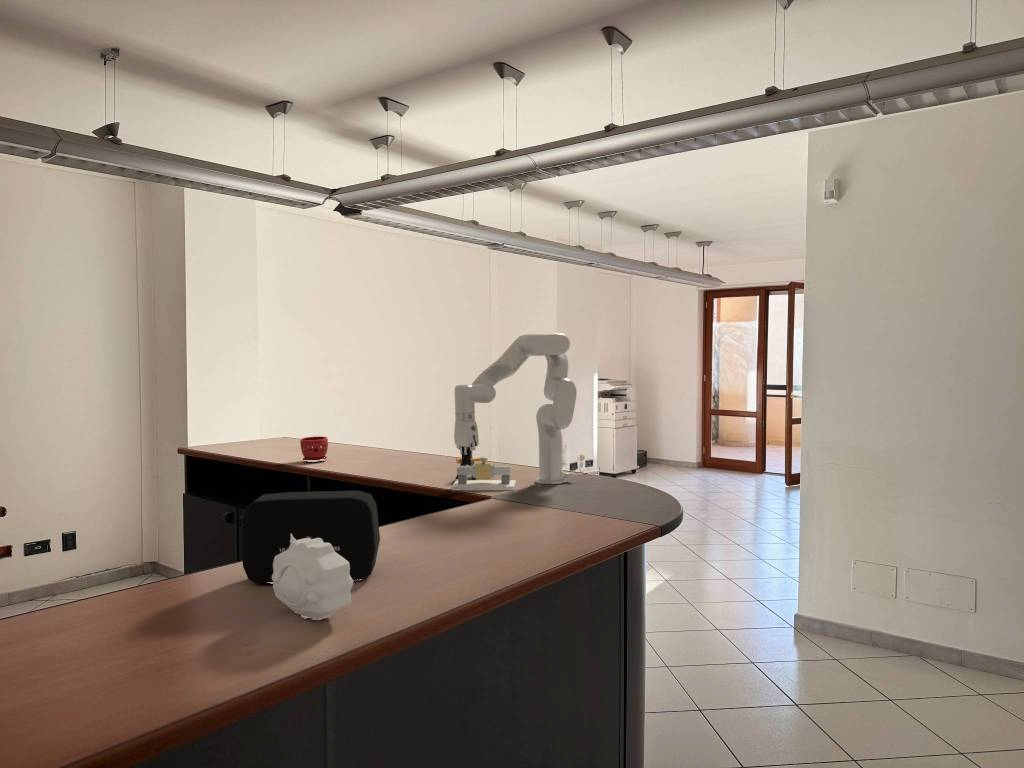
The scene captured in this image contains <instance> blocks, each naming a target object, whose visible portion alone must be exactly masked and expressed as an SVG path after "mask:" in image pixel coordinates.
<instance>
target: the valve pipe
mask: <svg viewBox="0 0 1024 768" xmlns="http://www.w3.org/2000/svg"><path fill="white" fill-rule="evenodd" d="M457 475H467V476H471V475H473V478H476V480H492V479H493V478H495V476H502V475H510V476H511V475H512V465H496V463H493V461H476V462H475V464H474V465H473V466H468V465H466V466H460V465H458V466H456V476H457Z"/></svg>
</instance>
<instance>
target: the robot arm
mask: <svg viewBox="0 0 1024 768" xmlns="http://www.w3.org/2000/svg"><path fill="white" fill-rule="evenodd" d="M570 346H571V341H570V339H569V337H568V336H567V335H566V334H564V333H561V332H556V333H527V334H522V335H519V336H518V337H517V338H516V339H515V340H514V341H513V342H512V343H511V344H510V345H509V346H508V348H507V349H506V350H504V352H503V354H501V356H500V357H498V359H496V360H495V361H494V362H493V363H492V364H490V366H488V367H487V368H485V369H484V370H483V371H482V372H481V373H480V374H479V375H478V376H477V377H476V378H475V379H474V381H473V382H472V383H471V384H459V385H456V386H454V415H455V416H454V419H455V420H454V421H455V422H454V434H453V435H454V436H453V437H454V439H453V440H454V444H455V446H456V448H457V449H458V450H459V451H460V455H461V458H462V465H466V466H468V465H470V464H471V454H472V455H473V451H476V450H477V448H476V447H478V446H479V444H480V443H479V442H480V441H479V431H478V430H479V429H478V425H477V424H478V423H477V420H476V410H475V409H476V408H475V407H476V405H475V404H476V403H477V404H478V403H479V404H489V403H492V402H493V401H494V400H495V398H496V395H497V391H496V389H495V385H497V384H498V383H500V382H501V381H503V380H506V379H508V378H510V377H511V376H514V374H515V373H517V371H518V370H519V369H520V367H522V365H524V363H525V362H526V361H527V360H528V359H529V357H534V356H536V357H537V356H539V357H542V356H543V357H544V358H545V360H546V362H547V366H546V374H545V381H544V387H543V395H544V397H545V398H546V399H547V400H549V401H551V402H552V401H553V402H552V403H546V404H543V405H541V406H540V407H539V408H538V409H537V412H536V417H535V419H536V426H537V431H538V433H537V435H538V477H537V478H535V483H537V484H541V485H559V484H566V483H567V478H570V479H571V478H573V479H574V477H575V475H574V474H575V473H574V472H566V471H564V469H563V436H562V430H566V429H567V428H568V427H569V426H570V425H571V423H572V422H573V418H574V412H575V407H576V400H577V392H578V391H577V387H576V384H575V383H574V381H573V380H571V379H569V378H568V373H569V359H568V356H567V355H566V353H567V352H568V350H569V349H570Z"/></svg>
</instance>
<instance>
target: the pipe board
mask: <svg viewBox="0 0 1024 768" xmlns="http://www.w3.org/2000/svg"><path fill="white" fill-rule="evenodd" d="M467 477H468V475H459V476H458V480H455V482H454V483H453V484H452V485H451V490H452V489H458V490H457V491H514V490H515V488H514V487H516V485H517V480H515V479H511V475H500V477H501V479H497V480H495V479H493V480H492V479H491V480H467ZM515 484H516V485H515ZM459 489H460V490H459Z"/></svg>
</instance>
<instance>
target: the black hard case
mask: <svg viewBox="0 0 1024 768" xmlns="http://www.w3.org/2000/svg"><path fill="white" fill-rule="evenodd" d="M378 515H379V514H378V506H377V502H376V500H375V499H374V497H373V495H372V494H371V493H367V492H364V491H361V490H331V491H328V490H324V491H323V490H322V491H321V490H320V491H292V492H291V491H290V492H289V491H288V492H278V493H277V492H276V493H275V492H274V493H264V494H263V495H261V496H260V497H257V498H256V499H255V500H254V501H252V502H251V503H250V504H248V505H247V506H245V509H244V512H243V514H242V532H241V533H242V535H241V544H242V547H241V549H242V553H241V555H242V567H243V570H244V573H245V575H246V577H247V579H248V580H249V581H251V582H252V583H254V584H256V583H267V582H273V580H272V575H273V572H274V570H273V562H274V558H275V556H276V555H278V554H280V553H283V552H285V551H287V550H288V549H289V547H290V544H291V543H290V539H291V536H290V535H291V534H292V535H293V537H294V538H295V539H296V540H300V539H304V538H310V539H315V538H321V539H322V540H323V542H324V543H330V544H331V545H332V547H333V549H334V551H335V552H336V553H337V554H339V555H340V556H342V557H343V558H344V559H346V560H347V561H348V562H349V565H350V572H349V574H350V576H351V578H352V580H357V579H358V580H359V579H364V580H365V579H367V578H369V577H371V575H372V573H373V571H374V569H375V566H376V562H377V558H378V557H377V556H378V551H379V546H380V541H381V535H380V525H379V517H378Z"/></svg>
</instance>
